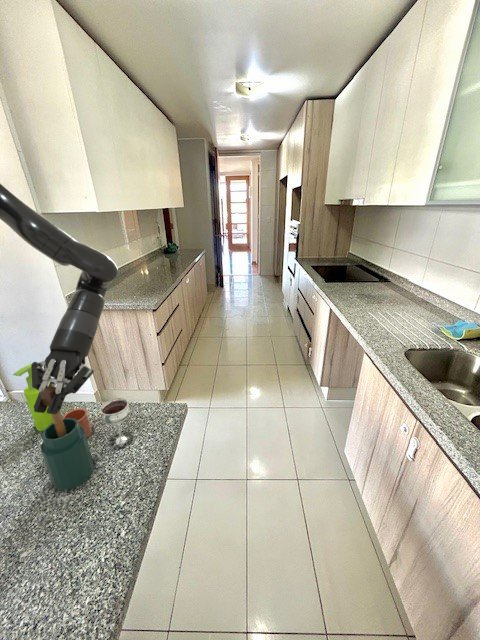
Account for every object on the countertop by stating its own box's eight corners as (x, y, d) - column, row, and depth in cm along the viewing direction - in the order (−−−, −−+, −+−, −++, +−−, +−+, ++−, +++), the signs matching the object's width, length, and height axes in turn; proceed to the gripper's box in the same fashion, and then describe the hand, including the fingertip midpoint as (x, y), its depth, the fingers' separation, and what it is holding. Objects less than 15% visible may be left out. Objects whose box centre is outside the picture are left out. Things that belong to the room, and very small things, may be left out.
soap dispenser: (27, 432, 73) (5, 372, 66) (49, 416, 80) (32, 359, 72) (44, 436, 72) (23, 375, 65) (65, 419, 78) (48, 361, 71)
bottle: (44, 488, 58) (26, 441, 53) (71, 458, 66) (58, 413, 61) (77, 494, 57) (63, 445, 52) (101, 462, 65) (90, 417, 60)
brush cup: (62, 442, 70) (56, 422, 68) (77, 427, 76) (72, 407, 73) (82, 445, 69) (76, 424, 67) (96, 429, 75) (91, 409, 72)
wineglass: (102, 443, 70) (94, 407, 66) (125, 428, 75) (119, 394, 71) (116, 456, 66) (108, 419, 62) (139, 439, 72) (133, 404, 67)
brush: (60, 466, 59) (36, 393, 52) (69, 456, 62) (48, 385, 54) (71, 467, 59) (49, 394, 51) (80, 457, 61) (60, 386, 54)
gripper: (35, 325, 57) (-3, 407, 50) (94, 329, 55) (63, 415, 48) (60, 337, 64) (29, 411, 57) (112, 341, 62) (88, 418, 55)
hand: (45, 412), depth 52 cm, fingers closed on brush, 2 cm apart
